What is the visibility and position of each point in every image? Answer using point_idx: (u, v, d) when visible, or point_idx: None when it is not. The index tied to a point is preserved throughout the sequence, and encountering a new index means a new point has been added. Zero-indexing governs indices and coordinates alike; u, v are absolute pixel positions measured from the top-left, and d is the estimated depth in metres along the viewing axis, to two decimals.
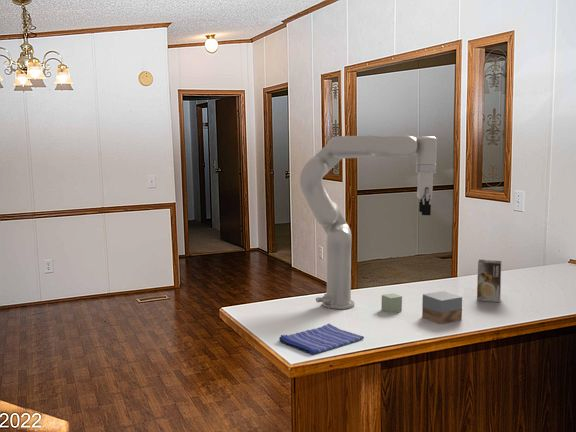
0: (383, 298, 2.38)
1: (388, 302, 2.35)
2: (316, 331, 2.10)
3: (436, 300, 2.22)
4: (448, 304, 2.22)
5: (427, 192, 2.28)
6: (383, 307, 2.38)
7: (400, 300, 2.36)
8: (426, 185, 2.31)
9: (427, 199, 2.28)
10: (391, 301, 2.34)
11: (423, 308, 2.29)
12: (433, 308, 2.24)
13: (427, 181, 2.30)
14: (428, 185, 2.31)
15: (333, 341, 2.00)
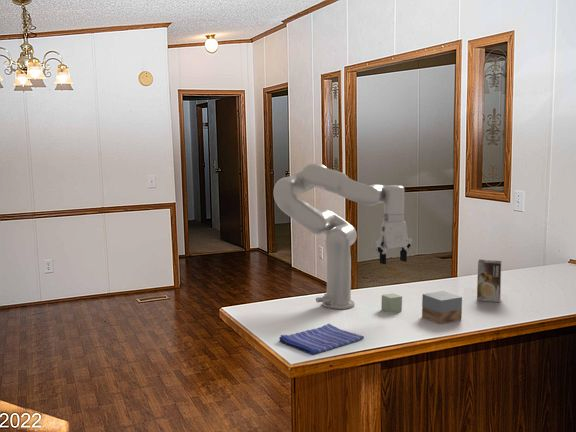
0: (383, 298, 2.38)
1: (388, 302, 2.35)
2: (316, 331, 2.10)
3: (435, 300, 2.22)
4: (447, 303, 2.22)
5: None
6: (383, 307, 2.38)
7: (400, 300, 2.36)
8: None
9: None
10: (391, 301, 2.34)
11: (423, 308, 2.29)
12: (433, 308, 2.24)
13: None
14: None
15: (333, 341, 2.00)
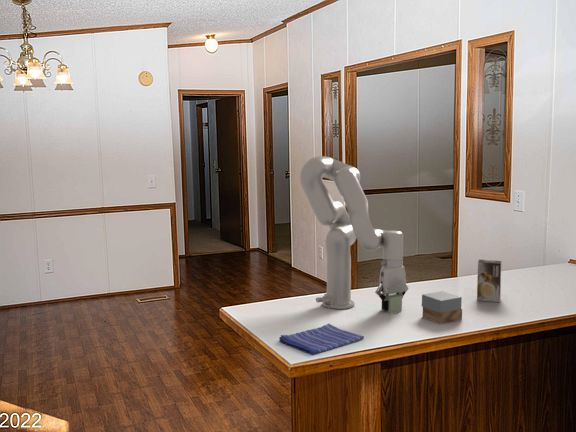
0: None
1: (388, 302, 2.35)
2: (316, 331, 2.10)
3: (435, 300, 2.22)
4: (447, 304, 2.22)
5: None
6: None
7: (400, 300, 2.36)
8: None
9: None
10: (391, 301, 2.34)
11: (423, 308, 2.29)
12: (433, 308, 2.24)
13: None
14: None
15: (333, 341, 2.00)
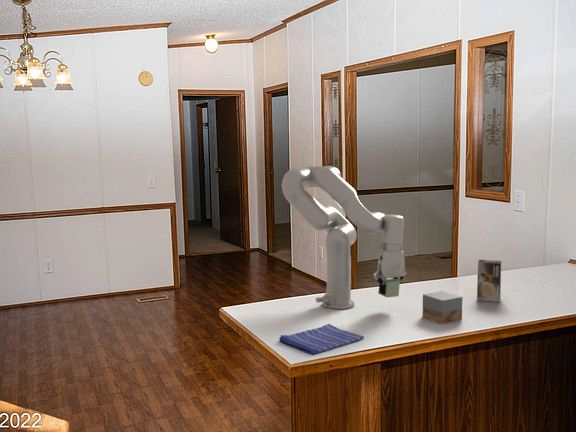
0: None
1: None
2: (316, 331, 2.10)
3: (437, 300, 2.22)
4: (448, 303, 2.22)
5: None
6: None
7: (398, 285, 2.36)
8: None
9: None
10: (388, 285, 2.34)
11: (423, 308, 2.29)
12: (434, 308, 2.24)
13: None
14: None
15: (333, 341, 2.00)
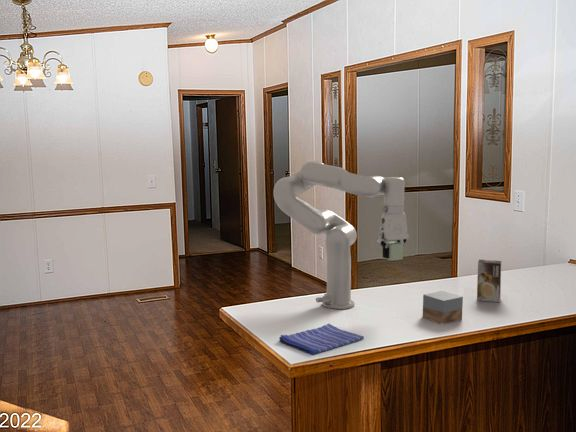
0: None
1: (389, 249, 2.32)
2: (316, 331, 2.10)
3: (438, 300, 2.22)
4: (449, 303, 2.22)
5: None
6: None
7: (401, 247, 2.33)
8: None
9: None
10: (392, 248, 2.31)
11: (423, 308, 2.29)
12: (435, 308, 2.24)
13: None
14: None
15: (333, 341, 2.00)
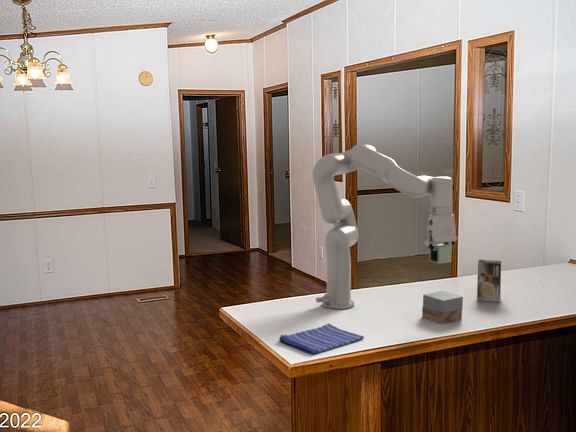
0: None
1: None
2: (316, 331, 2.10)
3: (437, 300, 2.22)
4: (449, 303, 2.22)
5: None
6: None
7: (450, 250, 2.24)
8: None
9: None
10: (441, 251, 2.22)
11: (423, 308, 2.29)
12: (435, 308, 2.24)
13: None
14: None
15: (333, 341, 2.00)
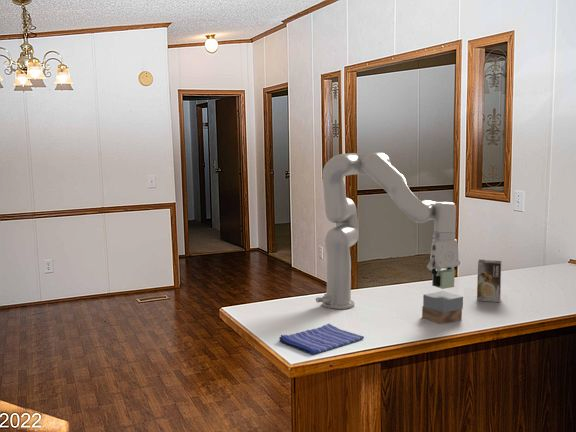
0: None
1: (440, 277, 2.23)
2: (316, 331, 2.10)
3: (437, 300, 2.22)
4: (449, 303, 2.22)
5: None
6: None
7: (452, 275, 2.24)
8: None
9: None
10: (443, 276, 2.22)
11: (423, 308, 2.29)
12: (435, 308, 2.24)
13: None
14: None
15: (333, 341, 2.00)
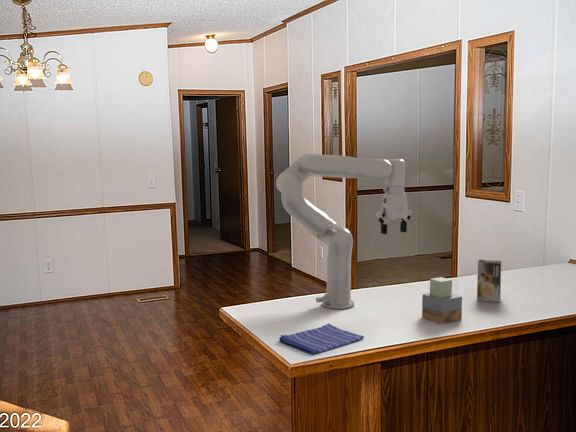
0: (432, 282, 2.26)
1: (437, 286, 2.24)
2: (316, 331, 2.10)
3: (436, 300, 2.22)
4: (448, 303, 2.22)
5: None
6: (432, 292, 2.27)
7: (450, 284, 2.25)
8: None
9: None
10: (441, 285, 2.23)
11: (423, 308, 2.29)
12: (433, 308, 2.24)
13: None
14: None
15: (333, 341, 2.00)
